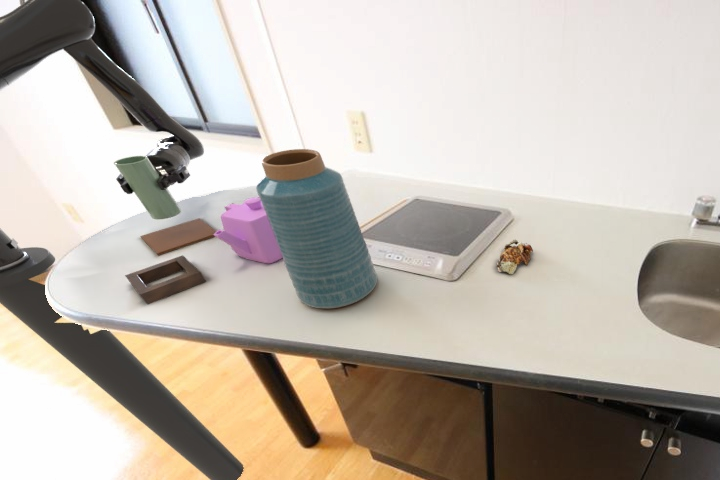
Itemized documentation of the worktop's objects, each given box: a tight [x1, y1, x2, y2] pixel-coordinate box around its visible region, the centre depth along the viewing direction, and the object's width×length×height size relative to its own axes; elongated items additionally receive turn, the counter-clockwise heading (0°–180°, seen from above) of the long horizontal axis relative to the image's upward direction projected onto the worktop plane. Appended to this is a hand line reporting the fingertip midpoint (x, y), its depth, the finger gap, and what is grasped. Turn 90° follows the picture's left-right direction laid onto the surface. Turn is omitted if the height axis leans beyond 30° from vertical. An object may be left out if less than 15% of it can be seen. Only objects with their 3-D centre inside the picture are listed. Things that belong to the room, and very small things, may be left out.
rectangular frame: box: [124, 255, 207, 305], centre depth 79 cm, size 11×11×2 cm
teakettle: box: [213, 196, 283, 265], centre depth 87 cm, size 17×17×12 cm
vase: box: [255, 148, 378, 309], centre depth 69 cm, size 16×16×27 cm
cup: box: [113, 155, 182, 220], centre depth 87 cm, size 6×6×13 cm
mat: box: [139, 217, 218, 256], centre depth 96 cm, size 14×14×1 cm
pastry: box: [496, 238, 534, 275], centre depth 85 cm, size 7×12×4 cm, turn 162°
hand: (143, 187), depth 85 cm, fingers closed on cup, 6 cm apart
